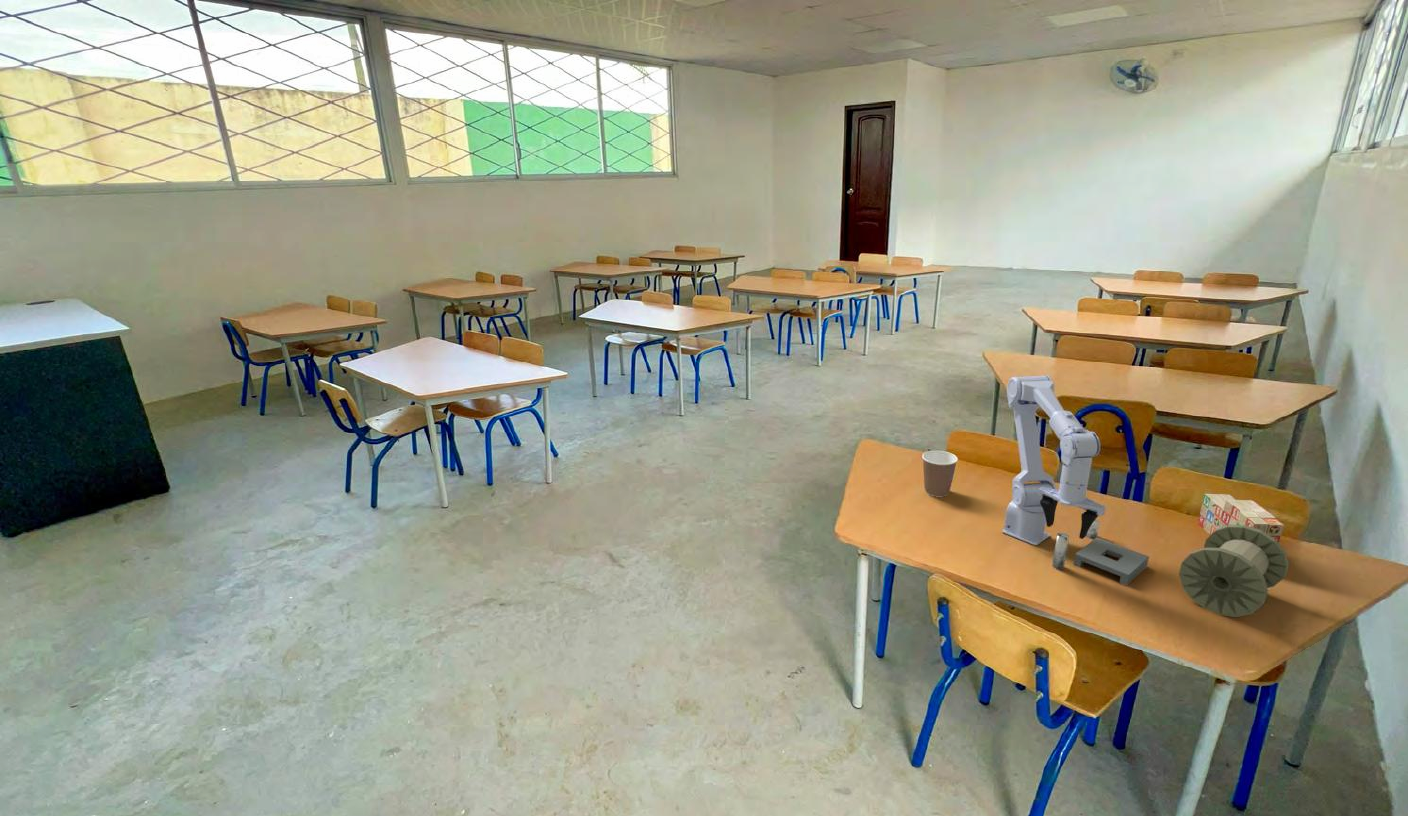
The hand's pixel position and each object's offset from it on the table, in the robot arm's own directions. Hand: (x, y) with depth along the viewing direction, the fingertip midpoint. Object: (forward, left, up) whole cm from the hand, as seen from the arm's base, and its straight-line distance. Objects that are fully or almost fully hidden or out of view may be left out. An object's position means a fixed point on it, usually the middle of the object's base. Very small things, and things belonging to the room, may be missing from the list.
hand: (1065, 531), depth 156 cm
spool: (+30, +16, -11) cm, 35 cm away
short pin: (-1, +21, -10) cm, 24 cm away
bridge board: (+8, +10, -10) cm, 16 cm away
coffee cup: (-43, +13, -11) cm, 47 cm away
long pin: (0, 0, -10) cm, 10 cm away
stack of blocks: (+23, +43, -11) cm, 50 cm away
